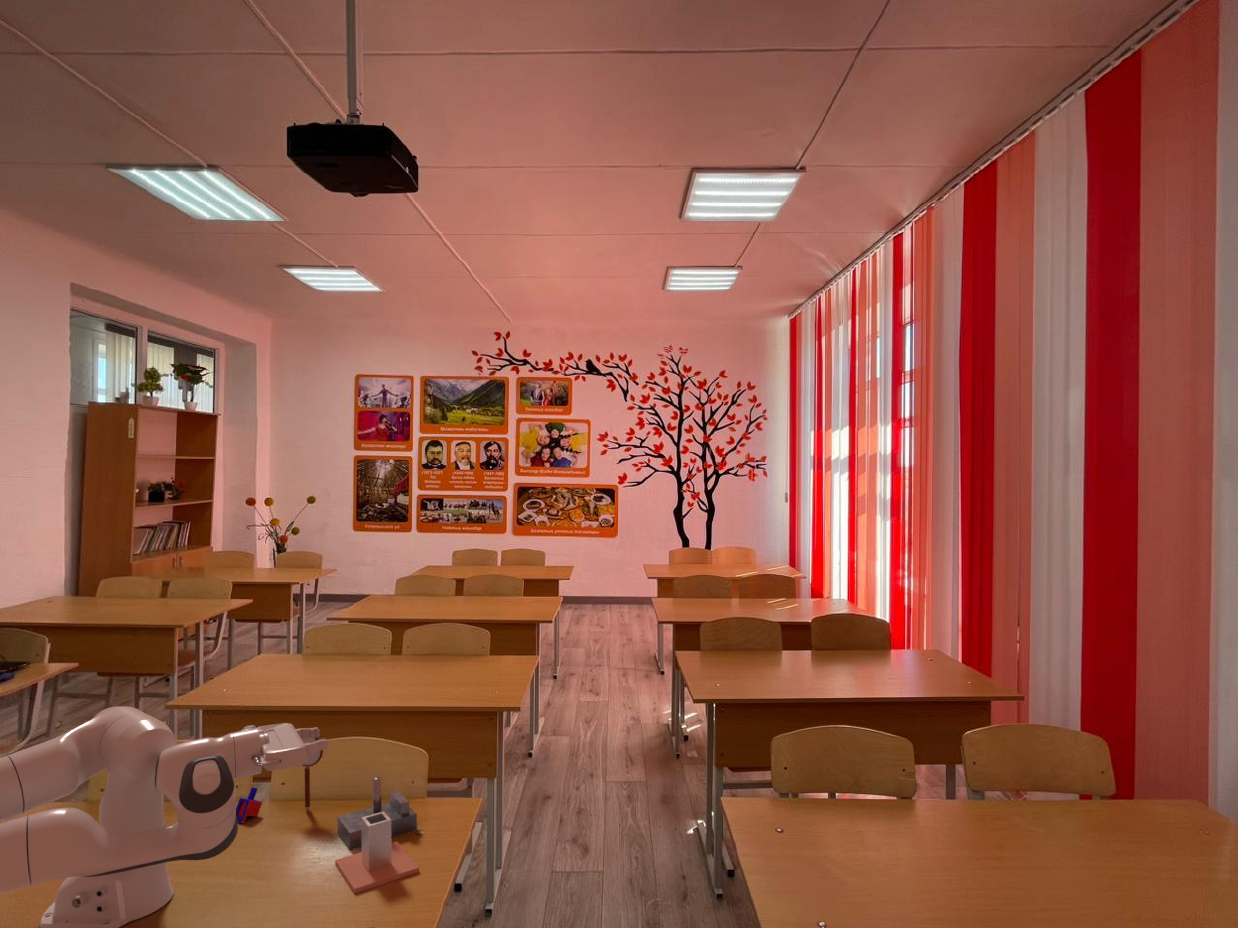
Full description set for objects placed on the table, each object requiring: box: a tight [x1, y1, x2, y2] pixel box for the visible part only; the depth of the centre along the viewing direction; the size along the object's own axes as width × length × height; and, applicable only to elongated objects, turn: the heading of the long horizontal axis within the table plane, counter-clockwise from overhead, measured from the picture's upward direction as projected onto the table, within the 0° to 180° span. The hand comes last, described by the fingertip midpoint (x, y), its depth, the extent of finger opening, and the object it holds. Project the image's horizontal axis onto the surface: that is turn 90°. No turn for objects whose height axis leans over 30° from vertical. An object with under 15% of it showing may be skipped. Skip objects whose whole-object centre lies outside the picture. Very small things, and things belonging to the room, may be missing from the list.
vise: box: [337, 776, 418, 851], centre depth 185 cm, size 16×10×13 cm, turn 126°
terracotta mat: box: [334, 841, 420, 895], centre depth 169 cm, size 14×14×1 cm
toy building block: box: [236, 786, 263, 824], centre depth 194 cm, size 4×4×8 cm
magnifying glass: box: [302, 737, 324, 811], centre depth 197 cm, size 9×2×20 cm, turn 81°
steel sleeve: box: [361, 811, 393, 872], centre depth 169 cm, size 5×5×10 cm
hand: (323, 737), depth 160 cm, fingers open, 8 cm apart
